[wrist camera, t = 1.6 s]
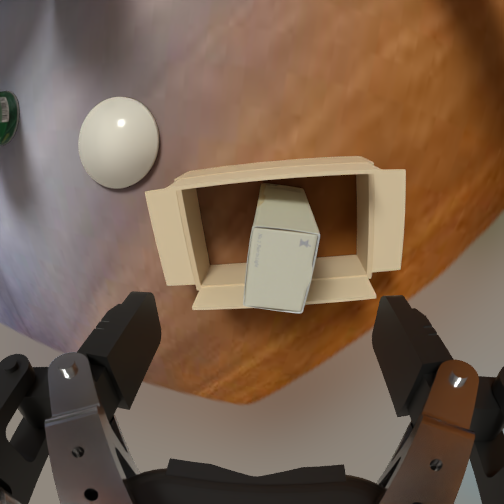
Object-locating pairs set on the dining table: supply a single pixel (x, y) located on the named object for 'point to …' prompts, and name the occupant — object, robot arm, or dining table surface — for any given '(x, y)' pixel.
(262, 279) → the skincare box
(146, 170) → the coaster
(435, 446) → the robot arm
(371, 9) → the dining table surface
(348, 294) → the carton
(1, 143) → the canned tomato
